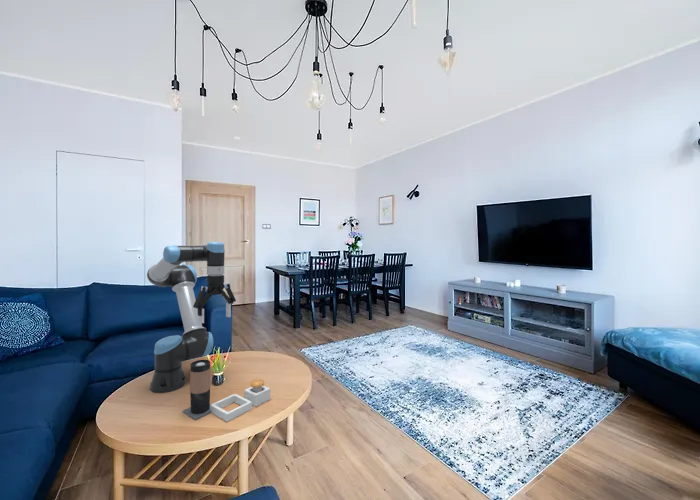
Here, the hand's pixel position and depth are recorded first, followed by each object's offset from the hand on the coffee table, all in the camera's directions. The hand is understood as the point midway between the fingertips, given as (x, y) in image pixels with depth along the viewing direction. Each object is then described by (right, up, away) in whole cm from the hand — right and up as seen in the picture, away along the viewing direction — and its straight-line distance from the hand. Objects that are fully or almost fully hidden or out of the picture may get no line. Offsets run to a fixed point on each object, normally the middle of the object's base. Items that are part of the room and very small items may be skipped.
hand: (215, 319), depth 147 cm
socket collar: (+13, -36, -14) cm, 40 cm away
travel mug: (0, -35, -15) cm, 38 cm away
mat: (0, -35, -15) cm, 38 cm away
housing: (+21, -35, -6) cm, 42 cm away
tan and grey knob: (+21, -35, -6) cm, 41 cm away
